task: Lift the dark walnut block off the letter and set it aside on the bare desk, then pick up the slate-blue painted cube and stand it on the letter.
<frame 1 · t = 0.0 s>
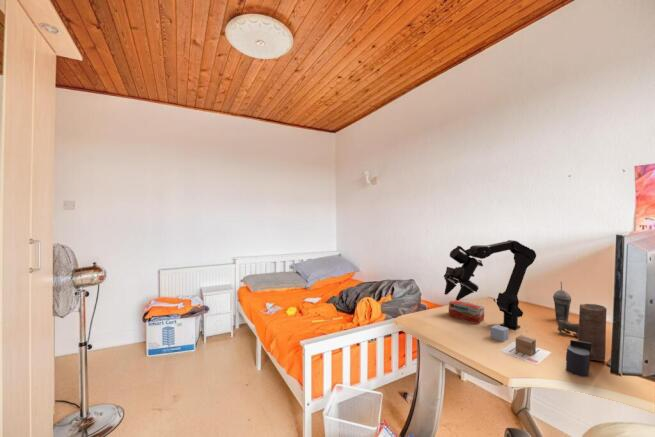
hand: (450, 297, 126), 15 cm above the table, tool tilted 35°, fingers open, 9 cm apart
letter: (525, 352, 104), on the table
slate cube: (499, 339, 116), on the table
candle: (591, 359, 100), on the table
medicine box: (465, 318, 140), on the table
dog figurine: (574, 336, 120), on the table
speaker: (579, 374, 90), on the table
walnut block: (525, 351, 104), resting on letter
beverage cup: (561, 321, 139), on the table
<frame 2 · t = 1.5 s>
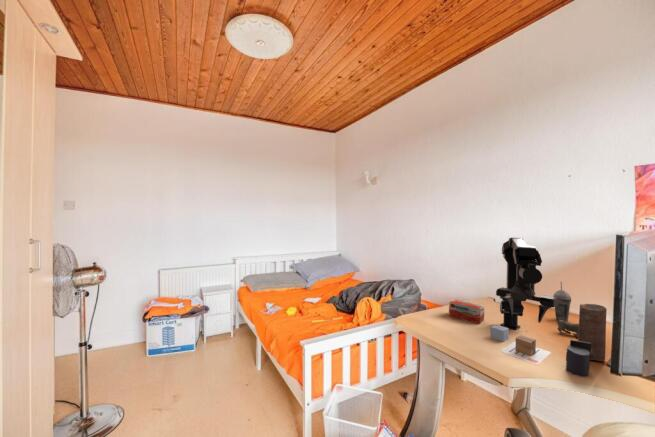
hand: (524, 318, 104), 13 cm above the table, tool pointing down, fingers open, 9 cm apart
nothing on the table moved.
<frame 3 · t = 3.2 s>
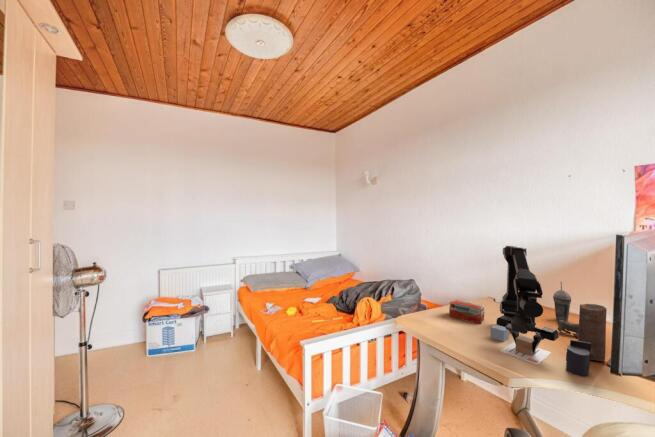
hand: (525, 349, 104), 1 cm above the table, tool pointing down, fingers closed on walnut block, 5 cm apart
walnut block: (525, 351, 104), resting on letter, touching gripper
everything else where it was.
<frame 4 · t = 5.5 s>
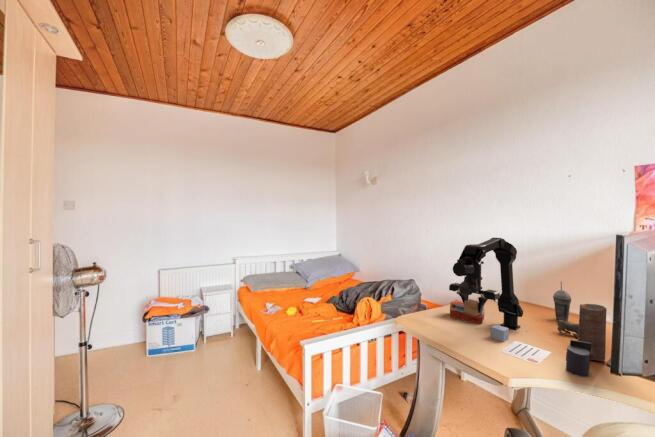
hand: (472, 310, 115), 12 cm above the table, tool pointing down, fingers closed on walnut block, 5 cm apart
walnut block: (472, 313, 115), point 11 cm above the table, touching gripper
everything else where it was.
when the fingers open (2 cm above the table, at t = 7.7 s): walnut block drops 1 cm, on the table.
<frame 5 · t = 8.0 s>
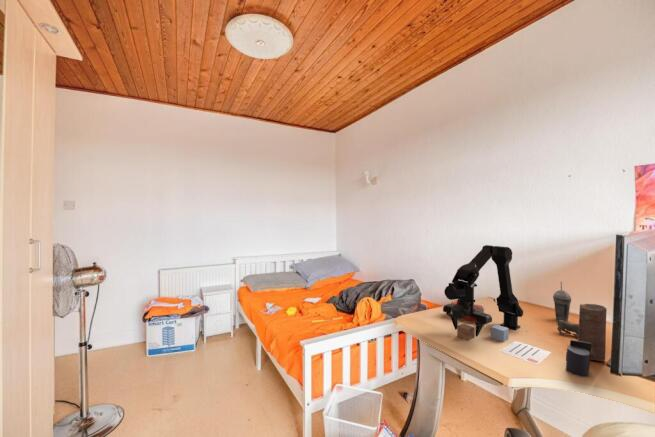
hand: (466, 332, 116), 2 cm above the table, tool pointing down, fingers open, 9 cm apart
walnut block: (465, 337, 116), on the table
everything else where it was.
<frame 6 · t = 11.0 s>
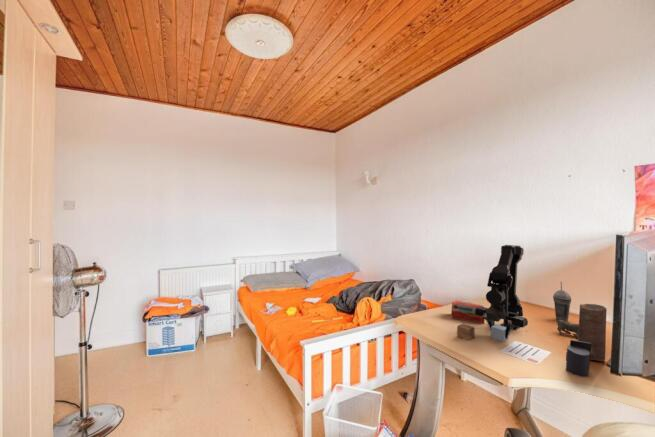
hand: (499, 336, 116), 1 cm above the table, tool pointing down, fingers closed on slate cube, 5 cm apart
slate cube: (499, 338, 116), on the table, touching gripper
when the fingers open (2 cm above the table, at t = 15.5 s): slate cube stays where it is, resting on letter.
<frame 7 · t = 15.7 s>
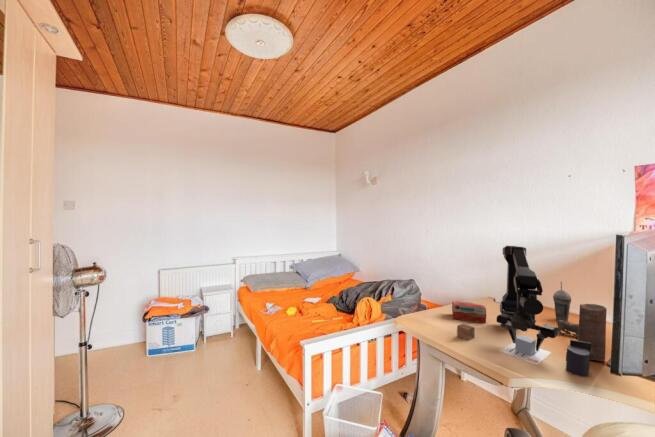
hand: (525, 346, 104), 2 cm above the table, tool pointing down, fingers open, 7 cm apart
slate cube: (525, 351, 104), resting on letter
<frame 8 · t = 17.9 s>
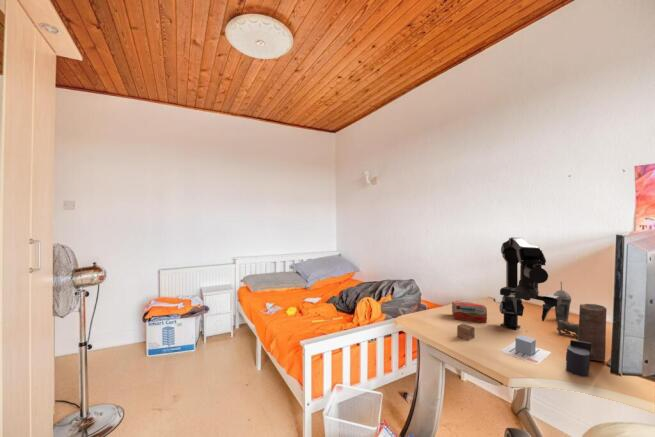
hand: (528, 317, 106), 13 cm above the table, tool pointing down, fingers open, 9 cm apart
at the end: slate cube inside the target area on the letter (0.0 cm from its centre), point 0.3 cm above the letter's base; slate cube tilted 0°; walnut block inside the target area (0.1 cm from its centre), on the table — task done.
